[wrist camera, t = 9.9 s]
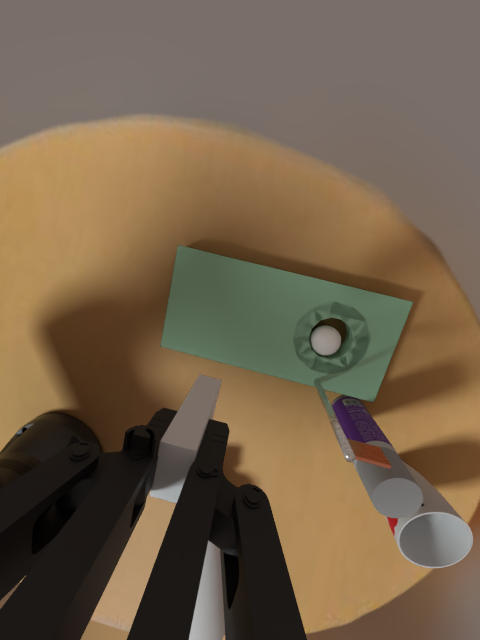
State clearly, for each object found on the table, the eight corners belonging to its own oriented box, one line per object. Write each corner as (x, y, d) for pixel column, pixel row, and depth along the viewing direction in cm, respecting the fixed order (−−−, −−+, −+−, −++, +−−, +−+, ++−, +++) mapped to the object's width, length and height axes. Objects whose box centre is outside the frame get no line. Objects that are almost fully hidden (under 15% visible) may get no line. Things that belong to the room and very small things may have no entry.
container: (323, 409, 38) (359, 497, 24) (347, 388, 37) (399, 467, 23) (346, 428, 38) (395, 528, 24) (370, 408, 37) (436, 499, 23)
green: (168, 340, 38) (160, 346, 35) (185, 246, 35) (177, 244, 32) (365, 391, 37) (373, 402, 34) (400, 298, 34) (413, 301, 31)
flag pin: (312, 383, 34) (343, 460, 21) (314, 378, 34) (346, 452, 21) (340, 390, 34) (390, 473, 21) (342, 385, 34) (393, 465, 20)
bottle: (243, 618, 44) (244, 465, 39) (204, 681, 37) (199, 506, 32) (207, 578, 50) (203, 441, 45) (167, 627, 43) (158, 471, 38)
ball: (305, 357, 35) (336, 363, 34) (309, 340, 32) (343, 347, 31) (309, 334, 37) (338, 340, 36) (313, 316, 34) (345, 322, 33)
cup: (389, 440, 38) (431, 499, 28) (432, 469, 38) (489, 538, 29) (354, 476, 40) (382, 543, 30) (395, 503, 40) (437, 579, 30)
